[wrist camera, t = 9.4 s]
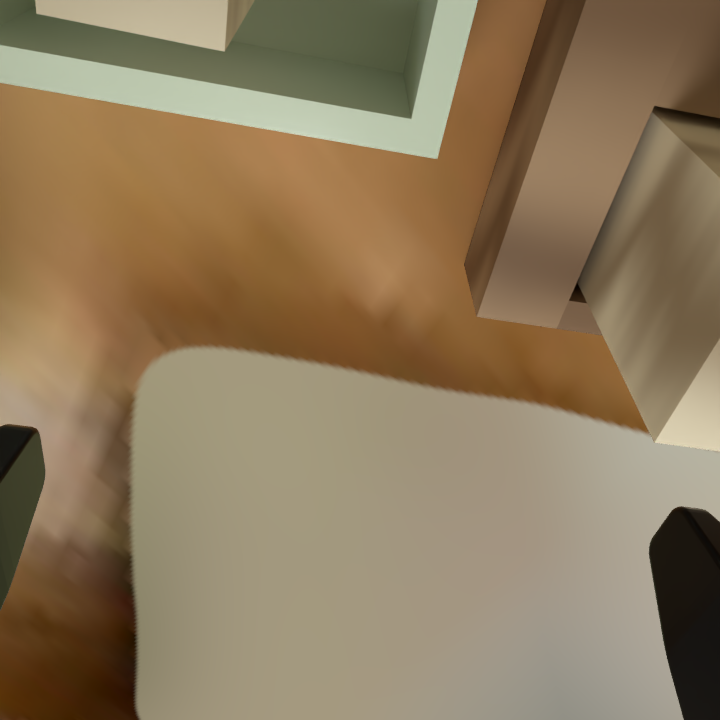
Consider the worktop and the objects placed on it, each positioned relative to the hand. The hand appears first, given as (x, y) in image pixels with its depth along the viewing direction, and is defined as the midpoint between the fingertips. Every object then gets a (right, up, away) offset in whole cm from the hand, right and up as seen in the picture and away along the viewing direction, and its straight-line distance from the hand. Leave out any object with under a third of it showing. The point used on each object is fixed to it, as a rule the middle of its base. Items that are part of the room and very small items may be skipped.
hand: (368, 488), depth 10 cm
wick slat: (+8, +7, +11) cm, 15 cm away
